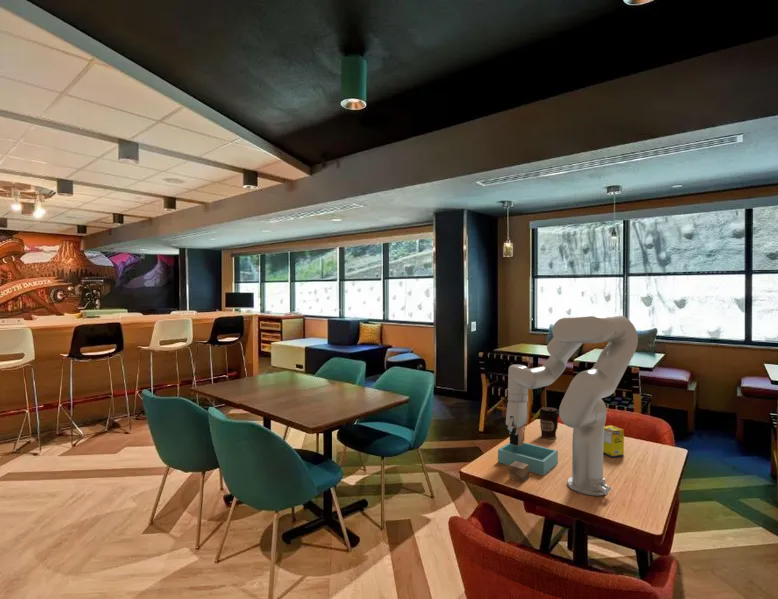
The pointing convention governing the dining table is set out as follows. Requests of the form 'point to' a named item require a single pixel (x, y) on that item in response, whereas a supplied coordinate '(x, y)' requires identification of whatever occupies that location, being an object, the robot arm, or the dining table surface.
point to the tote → (529, 457)
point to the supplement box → (613, 441)
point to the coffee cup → (548, 422)
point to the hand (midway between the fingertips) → (517, 441)
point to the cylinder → (520, 435)
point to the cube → (519, 471)
